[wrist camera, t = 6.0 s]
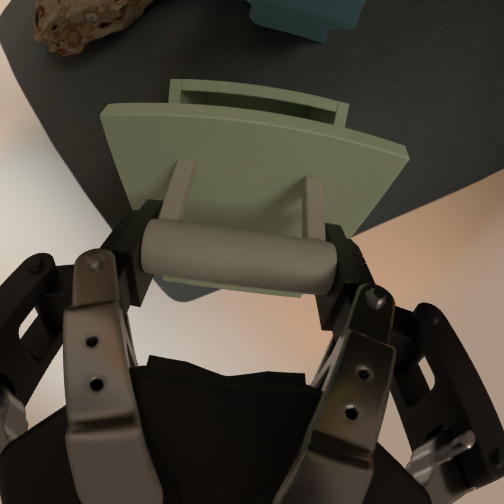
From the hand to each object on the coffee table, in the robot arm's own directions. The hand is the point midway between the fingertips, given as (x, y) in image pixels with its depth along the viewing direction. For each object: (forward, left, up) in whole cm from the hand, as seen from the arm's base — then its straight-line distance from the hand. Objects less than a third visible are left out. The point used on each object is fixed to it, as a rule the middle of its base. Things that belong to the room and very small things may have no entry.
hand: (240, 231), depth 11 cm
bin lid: (+3, 0, -5) cm, 5 cm away
